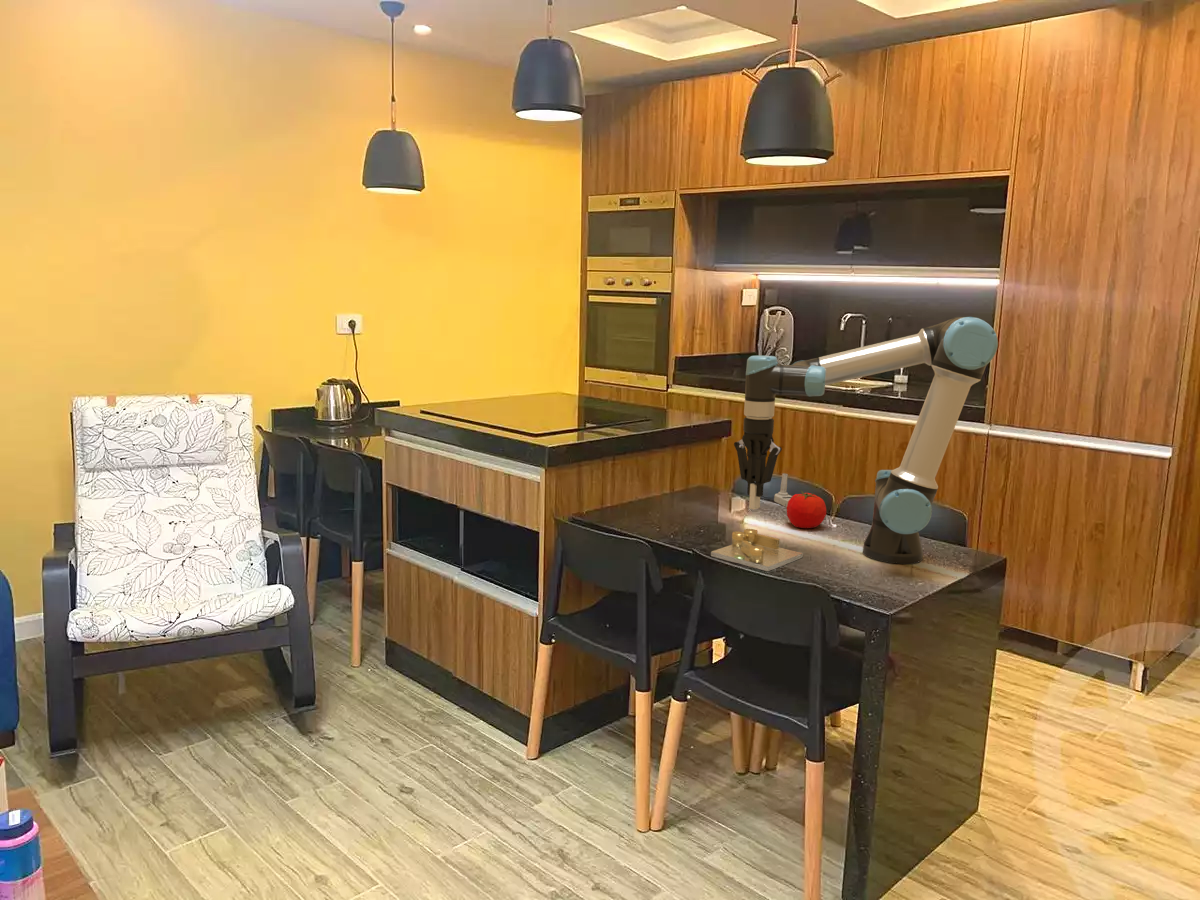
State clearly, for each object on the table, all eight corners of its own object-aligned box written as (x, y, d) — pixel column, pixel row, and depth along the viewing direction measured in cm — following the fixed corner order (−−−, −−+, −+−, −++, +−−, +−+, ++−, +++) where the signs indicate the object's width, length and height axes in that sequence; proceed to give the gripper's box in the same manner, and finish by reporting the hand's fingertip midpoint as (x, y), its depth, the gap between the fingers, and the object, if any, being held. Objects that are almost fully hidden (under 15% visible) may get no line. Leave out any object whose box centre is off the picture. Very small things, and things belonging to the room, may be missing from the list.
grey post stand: (800, 483, 280) (773, 472, 293) (797, 513, 282) (770, 501, 295) (814, 482, 282) (787, 471, 295) (811, 512, 284) (784, 500, 297)
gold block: (740, 542, 239) (741, 530, 239) (747, 539, 242) (748, 528, 241) (774, 550, 232) (774, 538, 232) (781, 548, 235) (782, 536, 235)
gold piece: (765, 562, 222) (766, 549, 221) (751, 562, 221) (752, 550, 220) (749, 550, 232) (750, 538, 231) (736, 550, 231) (737, 538, 230)
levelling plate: (802, 557, 232) (803, 541, 231) (767, 571, 219) (768, 554, 218) (745, 543, 243) (746, 527, 242) (709, 556, 230) (710, 539, 230)
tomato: (794, 519, 272) (796, 486, 270) (830, 526, 265) (833, 492, 263) (778, 527, 262) (780, 493, 260) (815, 534, 255) (818, 499, 254)
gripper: (789, 418, 224) (784, 510, 228) (745, 413, 232) (740, 501, 236) (773, 421, 218) (768, 515, 222) (728, 415, 227) (724, 506, 231)
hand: (754, 508), depth 229 cm, fingers closed
